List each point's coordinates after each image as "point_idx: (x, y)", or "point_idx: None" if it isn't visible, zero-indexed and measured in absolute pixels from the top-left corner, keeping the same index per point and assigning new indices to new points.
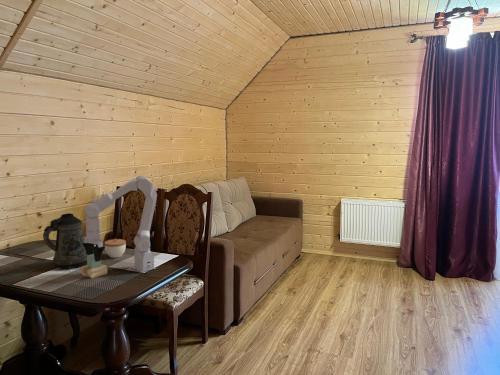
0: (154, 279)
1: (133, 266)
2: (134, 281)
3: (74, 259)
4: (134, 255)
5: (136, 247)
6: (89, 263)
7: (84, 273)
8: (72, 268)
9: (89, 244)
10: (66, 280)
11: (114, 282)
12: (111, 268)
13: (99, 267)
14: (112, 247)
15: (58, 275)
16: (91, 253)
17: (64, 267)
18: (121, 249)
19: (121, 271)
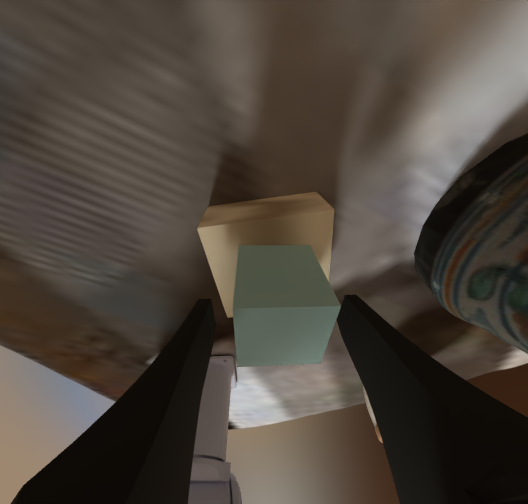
0: (57, 359)
1: (227, 363)
2: (58, 316)
3: (494, 232)
4: (201, 422)
5: (199, 479)
6: (274, 261)
7: (286, 200)
8: (448, 195)
9: (431, 472)
10: (287, 35)
11: (76, 261)
12: None
13: (224, 283)
14: None
15: (448, 42)
16: (352, 344)
17: (508, 153)
18: (367, 403)
19: (216, 325)
